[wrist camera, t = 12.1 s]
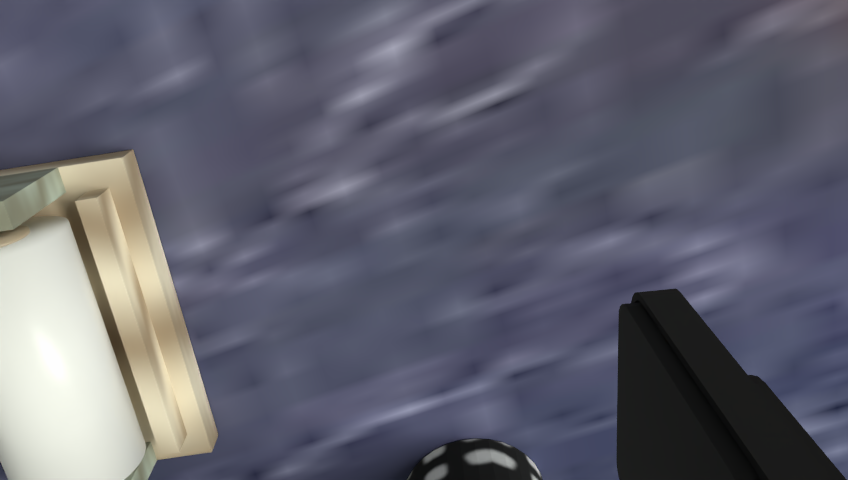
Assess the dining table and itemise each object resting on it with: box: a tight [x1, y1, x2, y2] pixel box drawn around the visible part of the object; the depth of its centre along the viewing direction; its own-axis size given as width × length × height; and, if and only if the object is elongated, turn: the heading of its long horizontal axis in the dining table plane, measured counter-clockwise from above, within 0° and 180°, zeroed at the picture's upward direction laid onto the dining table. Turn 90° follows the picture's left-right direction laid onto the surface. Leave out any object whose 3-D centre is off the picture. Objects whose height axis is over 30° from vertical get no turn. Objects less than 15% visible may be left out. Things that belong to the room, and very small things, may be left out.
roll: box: [0, 216, 146, 480], centre depth 34 cm, size 12×6×6 cm, turn 8°
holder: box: [0, 150, 218, 480], centre depth 35 cm, size 16×11×6 cm
